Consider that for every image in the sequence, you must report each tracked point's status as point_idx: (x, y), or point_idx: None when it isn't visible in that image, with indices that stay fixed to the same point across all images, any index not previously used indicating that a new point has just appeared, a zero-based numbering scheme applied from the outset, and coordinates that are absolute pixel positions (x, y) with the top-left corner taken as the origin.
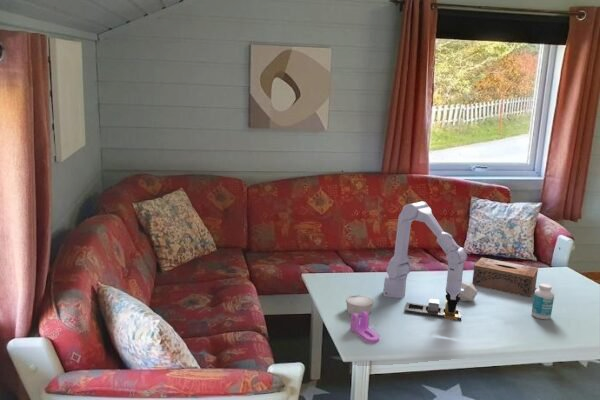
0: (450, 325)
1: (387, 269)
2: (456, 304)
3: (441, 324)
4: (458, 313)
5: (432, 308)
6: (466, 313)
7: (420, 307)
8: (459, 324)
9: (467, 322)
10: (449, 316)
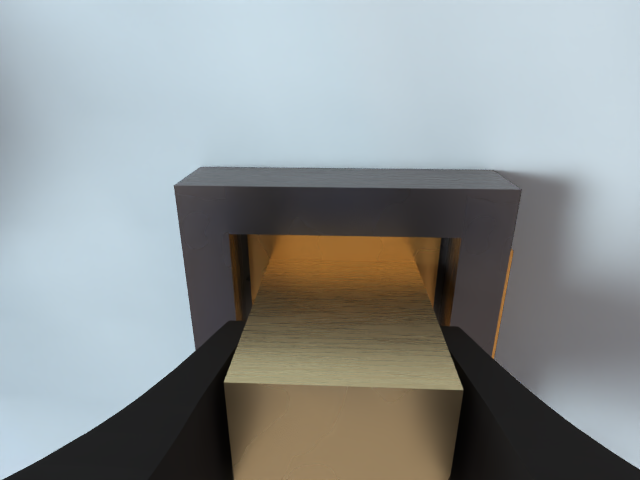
0: (614, 301)
1: None
2: (611, 456)
3: (597, 391)
4: (350, 232)
5: None
6: (115, 77)
7: None
8: (564, 190)
9: (465, 69)
10: (492, 352)
